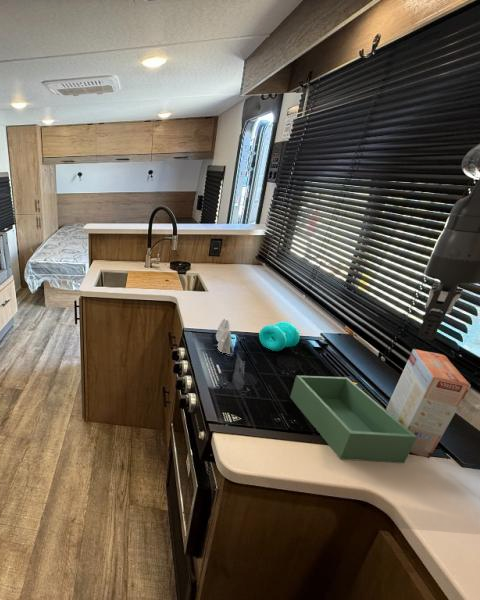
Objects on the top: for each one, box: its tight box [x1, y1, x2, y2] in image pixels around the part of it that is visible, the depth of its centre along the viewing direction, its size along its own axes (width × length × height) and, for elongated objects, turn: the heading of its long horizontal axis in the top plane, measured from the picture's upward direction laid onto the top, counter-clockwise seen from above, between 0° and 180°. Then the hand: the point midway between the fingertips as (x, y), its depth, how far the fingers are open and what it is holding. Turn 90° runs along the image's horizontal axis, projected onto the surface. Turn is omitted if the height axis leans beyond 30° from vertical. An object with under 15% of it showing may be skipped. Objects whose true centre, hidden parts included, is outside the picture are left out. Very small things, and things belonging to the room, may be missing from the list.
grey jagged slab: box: [215, 317, 232, 355], centre depth 116 cm, size 12×4×11 cm, turn 163°
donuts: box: [258, 321, 301, 353], centre depth 115 cm, size 10×10×10 cm
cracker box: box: [385, 348, 472, 460], centre depth 73 cm, size 14×6×21 cm, turn 147°
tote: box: [289, 375, 417, 464], centre depth 79 cm, size 14×22×8 cm, turn 174°
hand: (428, 331), depth 63 cm, fingers open, 8 cm apart
